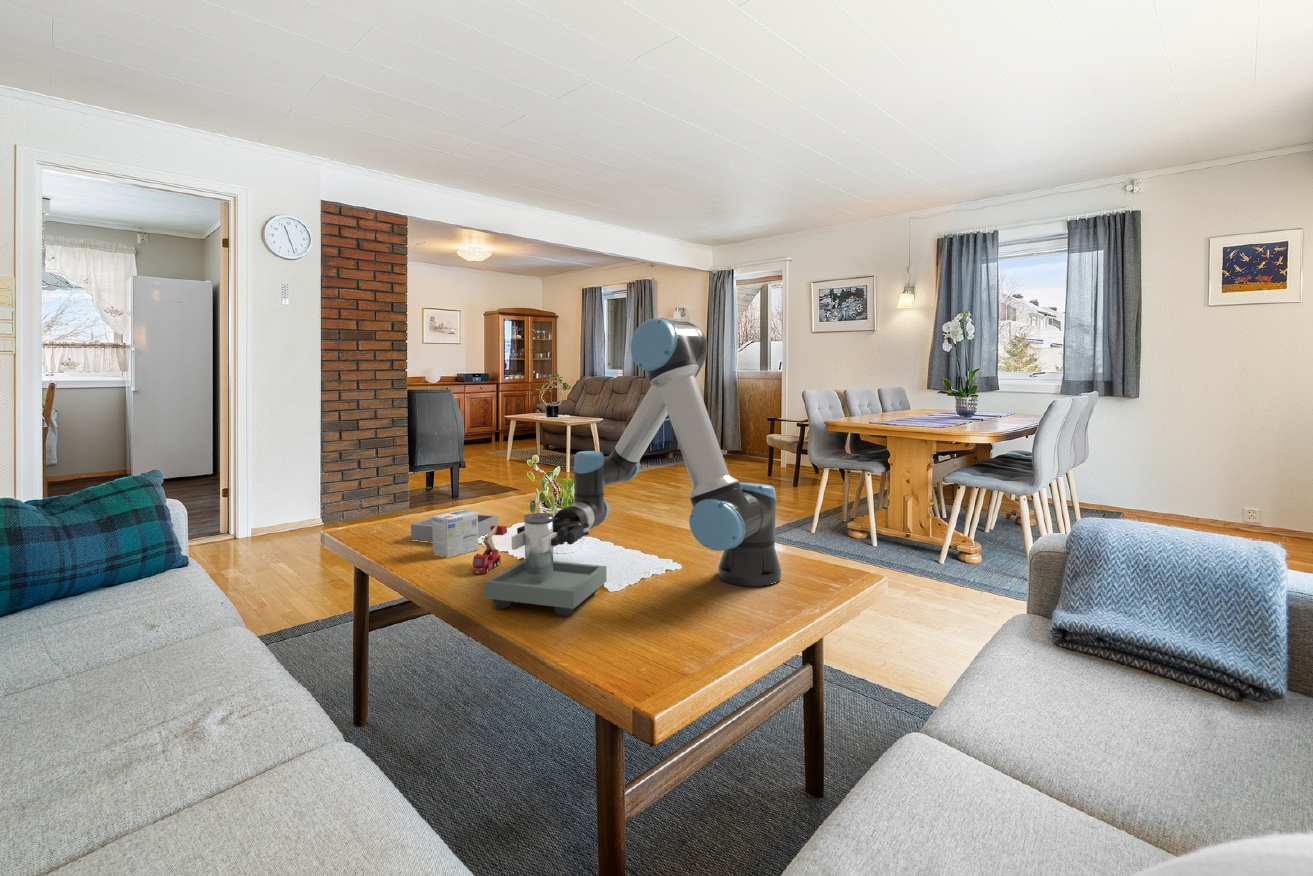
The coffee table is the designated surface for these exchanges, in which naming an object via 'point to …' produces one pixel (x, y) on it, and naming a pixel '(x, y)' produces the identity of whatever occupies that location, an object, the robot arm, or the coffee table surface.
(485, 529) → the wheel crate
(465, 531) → the light bulb box
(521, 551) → the coffee table surface
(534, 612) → the coffee table surface
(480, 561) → the toy fire truck
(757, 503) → the robot arm
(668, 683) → the coffee table surface
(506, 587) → the dolly
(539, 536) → the canister
